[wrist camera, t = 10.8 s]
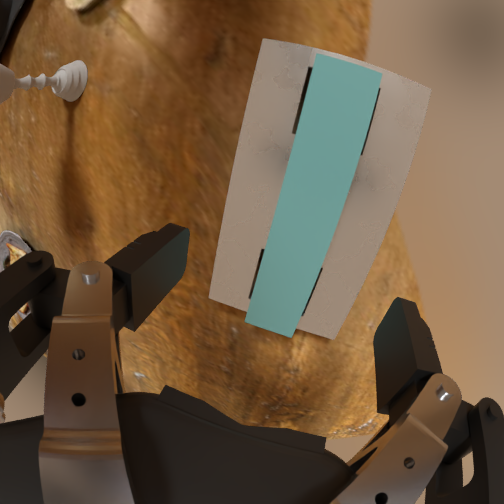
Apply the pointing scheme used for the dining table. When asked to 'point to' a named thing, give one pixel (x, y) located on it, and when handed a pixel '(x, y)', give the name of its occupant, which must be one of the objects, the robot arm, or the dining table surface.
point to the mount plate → (273, 172)
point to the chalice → (48, 81)
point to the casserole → (8, 17)
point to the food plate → (13, 257)
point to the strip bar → (313, 190)
